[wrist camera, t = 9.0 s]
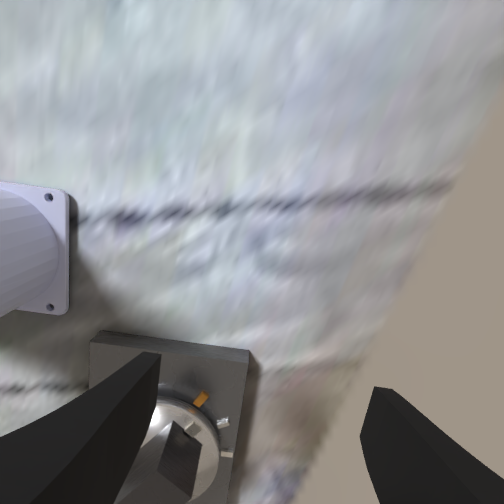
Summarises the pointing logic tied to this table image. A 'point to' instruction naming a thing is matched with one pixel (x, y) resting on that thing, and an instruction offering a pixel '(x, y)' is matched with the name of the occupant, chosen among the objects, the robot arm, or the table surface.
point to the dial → (173, 457)
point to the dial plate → (186, 386)
